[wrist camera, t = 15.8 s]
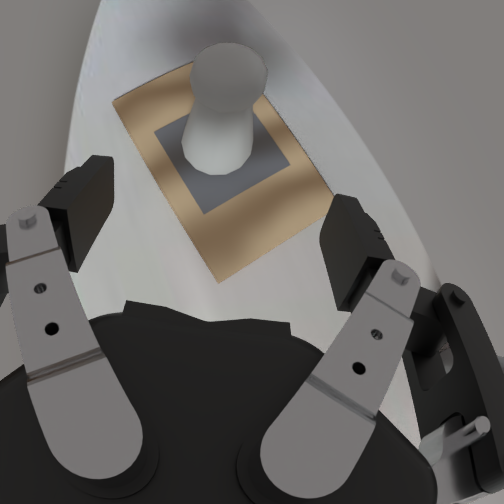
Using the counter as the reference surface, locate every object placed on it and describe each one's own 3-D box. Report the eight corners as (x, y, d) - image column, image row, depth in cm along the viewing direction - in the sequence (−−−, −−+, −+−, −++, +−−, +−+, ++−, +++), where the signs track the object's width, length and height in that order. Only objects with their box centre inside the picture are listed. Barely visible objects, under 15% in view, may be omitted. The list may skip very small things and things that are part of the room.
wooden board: (337, 206, 30) (339, 205, 29) (218, 283, 27) (218, 283, 27) (226, 51, 29) (226, 48, 29) (112, 104, 27) (111, 101, 26)
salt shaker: (191, 118, 28) (192, 19, 15) (252, 130, 28) (289, 38, 16) (176, 177, 27) (162, 96, 14) (242, 189, 28) (277, 117, 15)
